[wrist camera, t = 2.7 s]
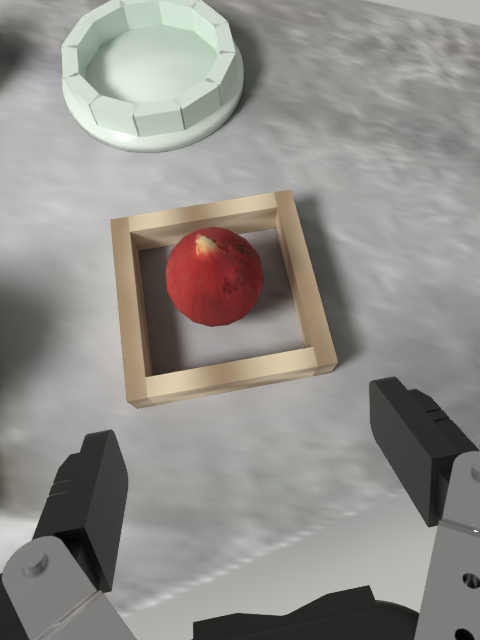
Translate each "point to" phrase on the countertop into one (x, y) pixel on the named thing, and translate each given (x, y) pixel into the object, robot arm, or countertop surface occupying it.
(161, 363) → the countertop surface
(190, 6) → the dish
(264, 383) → the holder
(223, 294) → the onion
